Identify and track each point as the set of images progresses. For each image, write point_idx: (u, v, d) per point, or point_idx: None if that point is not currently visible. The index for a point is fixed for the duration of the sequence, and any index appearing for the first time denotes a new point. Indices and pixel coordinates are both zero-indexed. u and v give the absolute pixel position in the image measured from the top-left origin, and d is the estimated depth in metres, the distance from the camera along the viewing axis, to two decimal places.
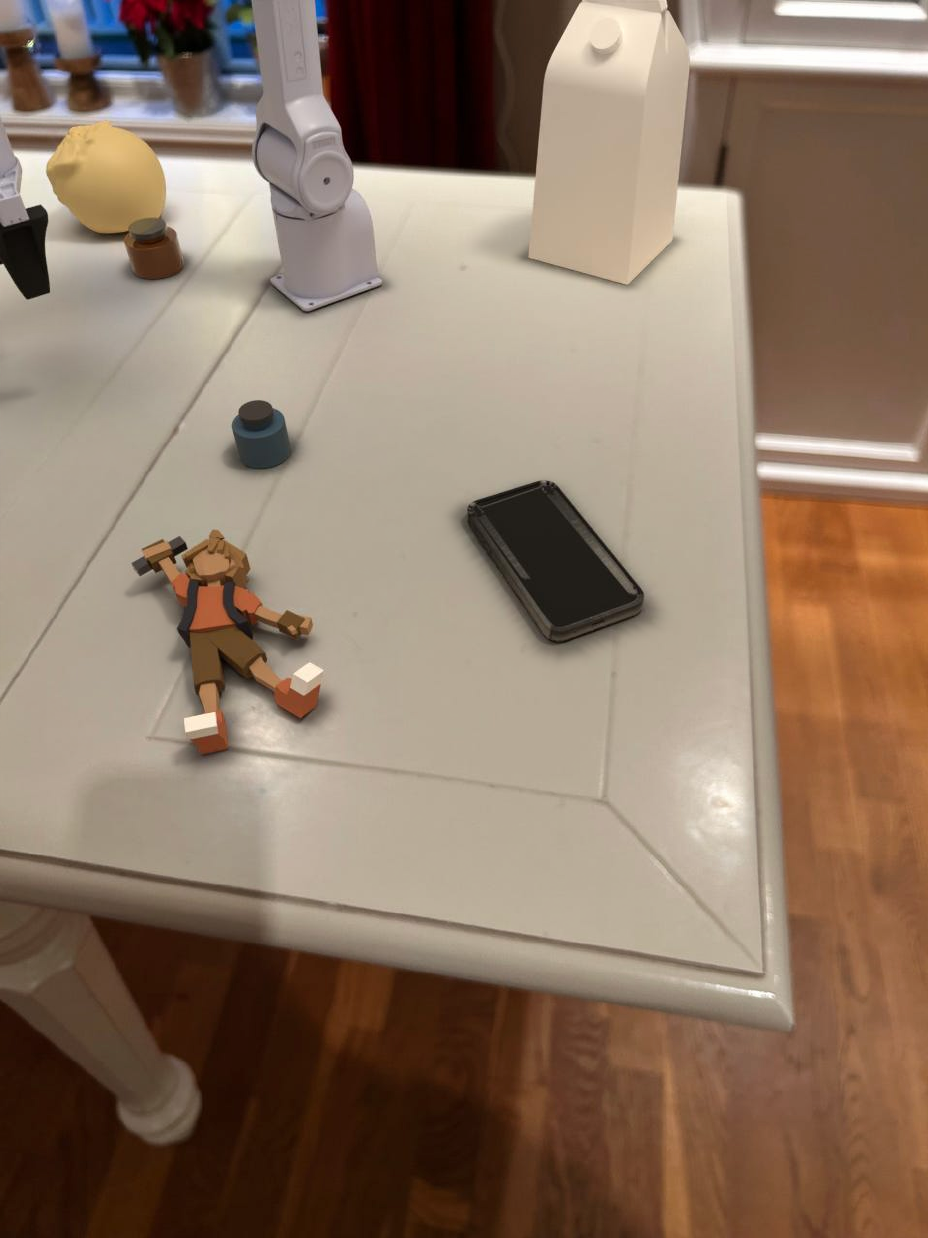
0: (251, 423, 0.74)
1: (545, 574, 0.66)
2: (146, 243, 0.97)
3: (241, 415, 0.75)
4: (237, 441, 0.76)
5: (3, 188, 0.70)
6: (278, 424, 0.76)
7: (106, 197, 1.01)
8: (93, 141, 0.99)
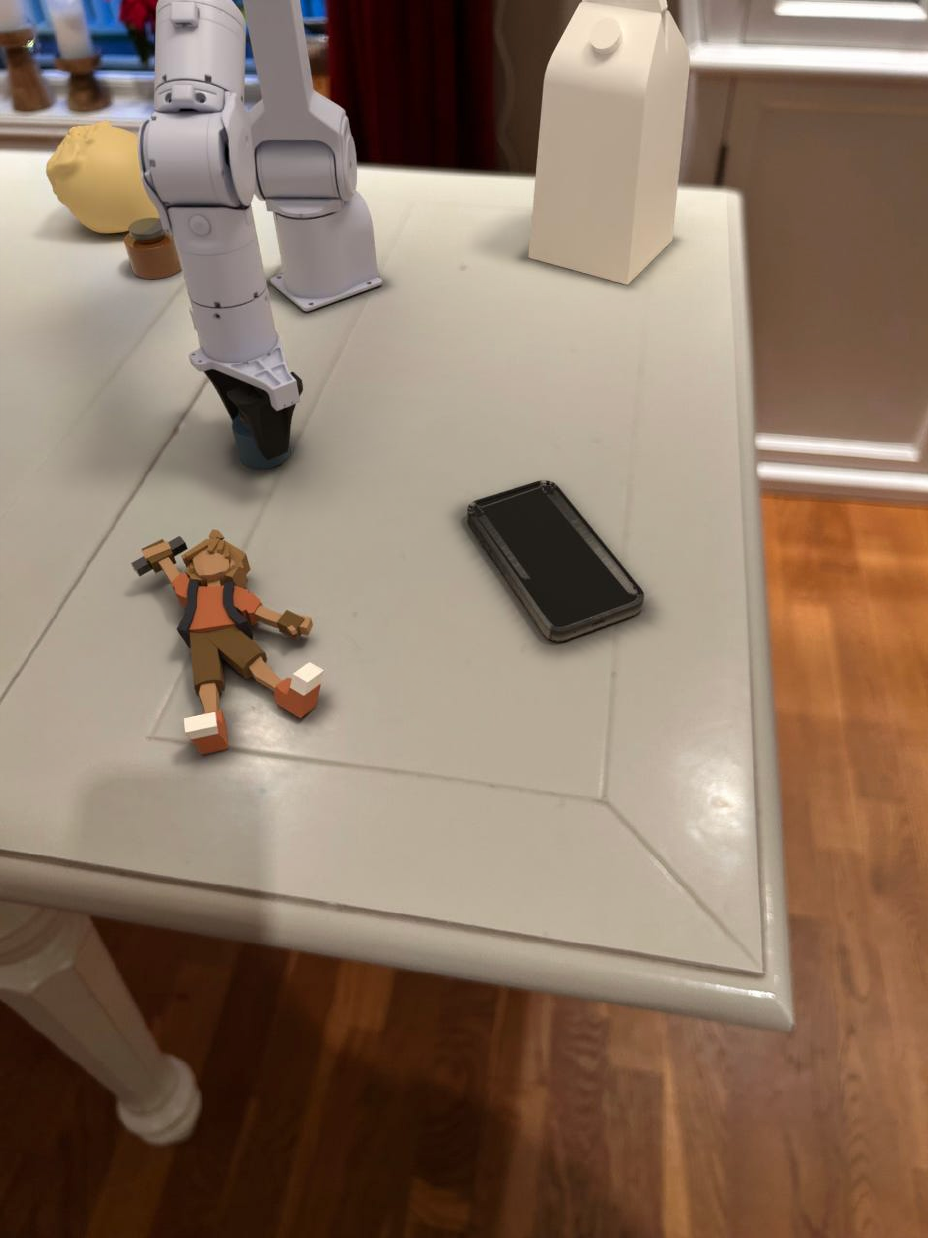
0: None
1: (545, 574, 0.66)
2: (146, 243, 0.97)
3: (241, 415, 0.74)
4: (237, 441, 0.76)
5: (273, 369, 0.68)
6: None
7: (106, 197, 1.01)
8: (93, 141, 0.99)
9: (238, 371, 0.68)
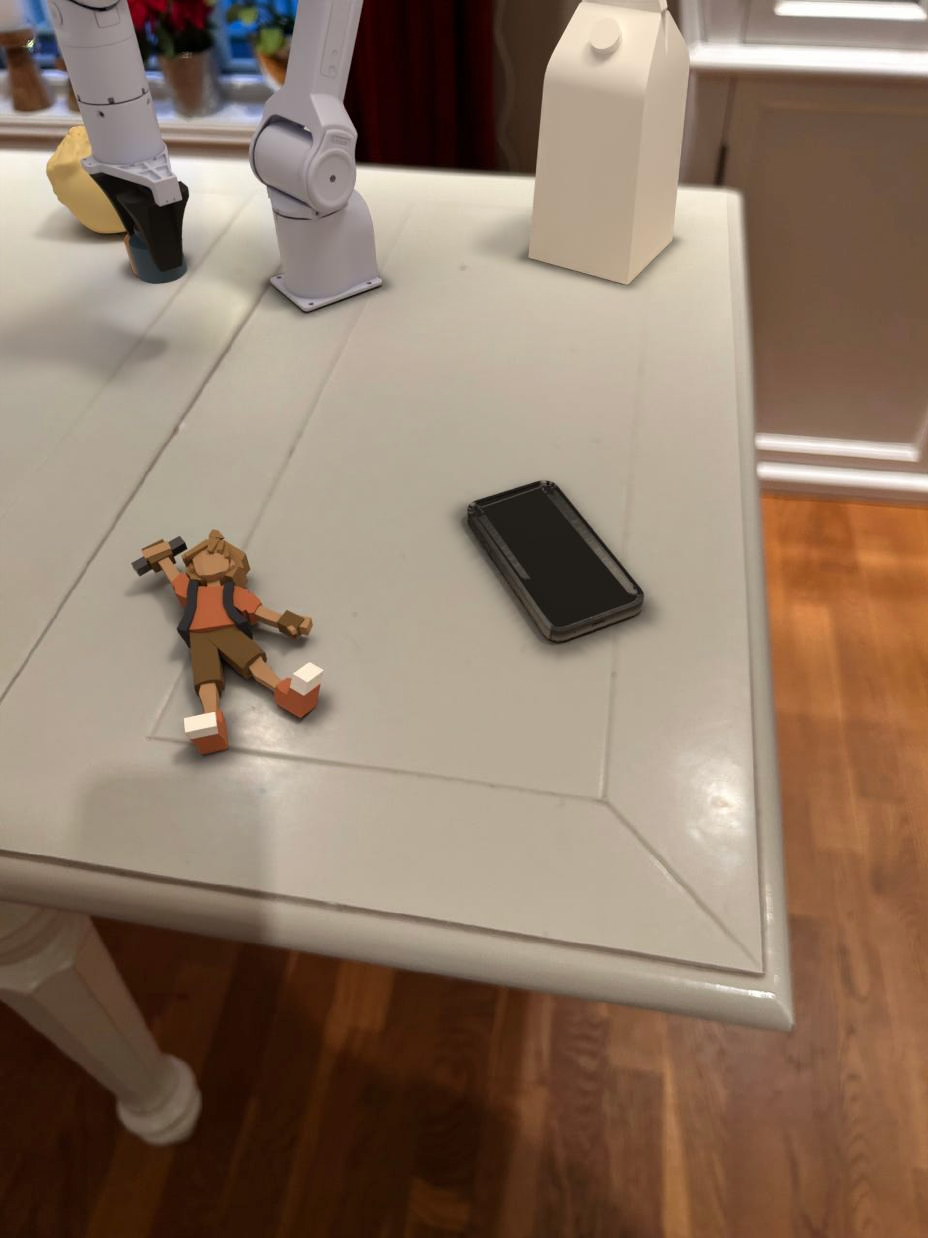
0: None
1: (545, 574, 0.66)
2: None
3: (136, 228, 0.80)
4: (133, 255, 0.81)
5: (157, 169, 0.74)
6: None
7: (106, 197, 1.01)
8: None
9: (124, 170, 0.73)
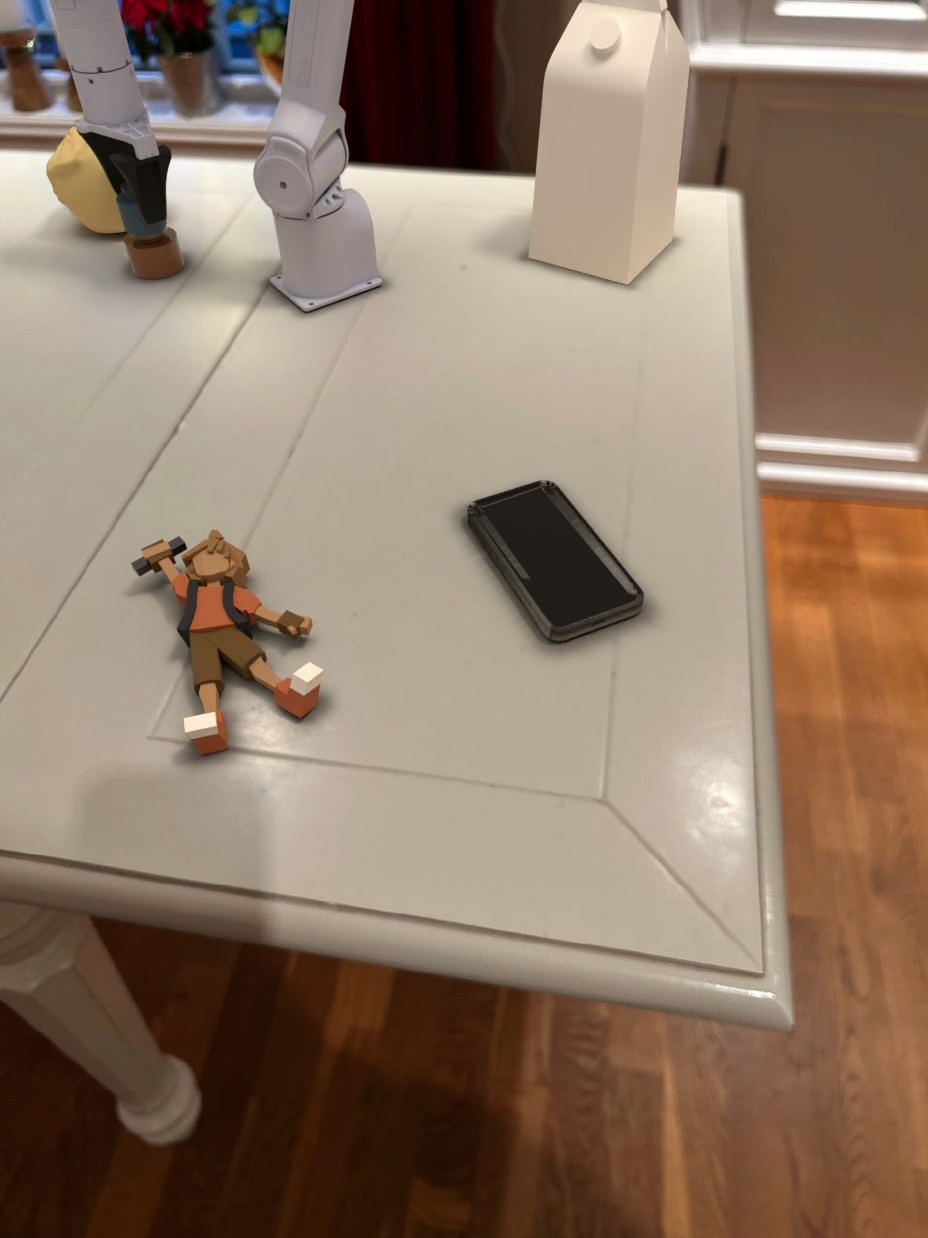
0: (130, 193, 0.94)
1: (545, 574, 0.66)
2: (146, 243, 0.97)
3: (122, 187, 0.94)
4: (120, 210, 0.95)
5: (138, 129, 0.87)
6: None
7: (106, 197, 1.01)
8: None
9: (110, 129, 0.87)
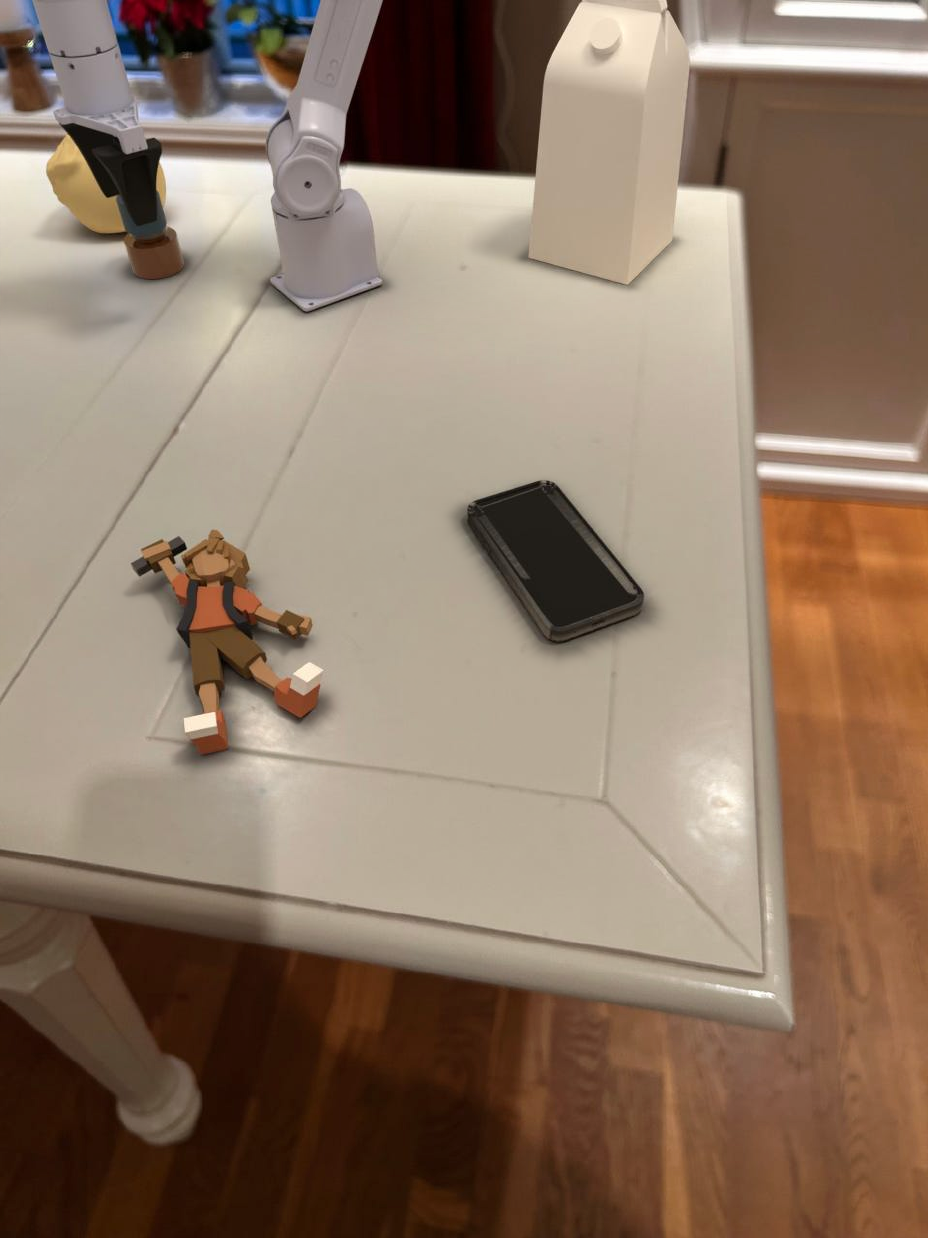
0: None
1: (545, 574, 0.66)
2: (146, 243, 0.97)
3: None
4: (120, 210, 0.95)
5: (125, 120, 0.78)
6: None
7: (106, 197, 1.01)
8: None
9: (93, 120, 0.78)
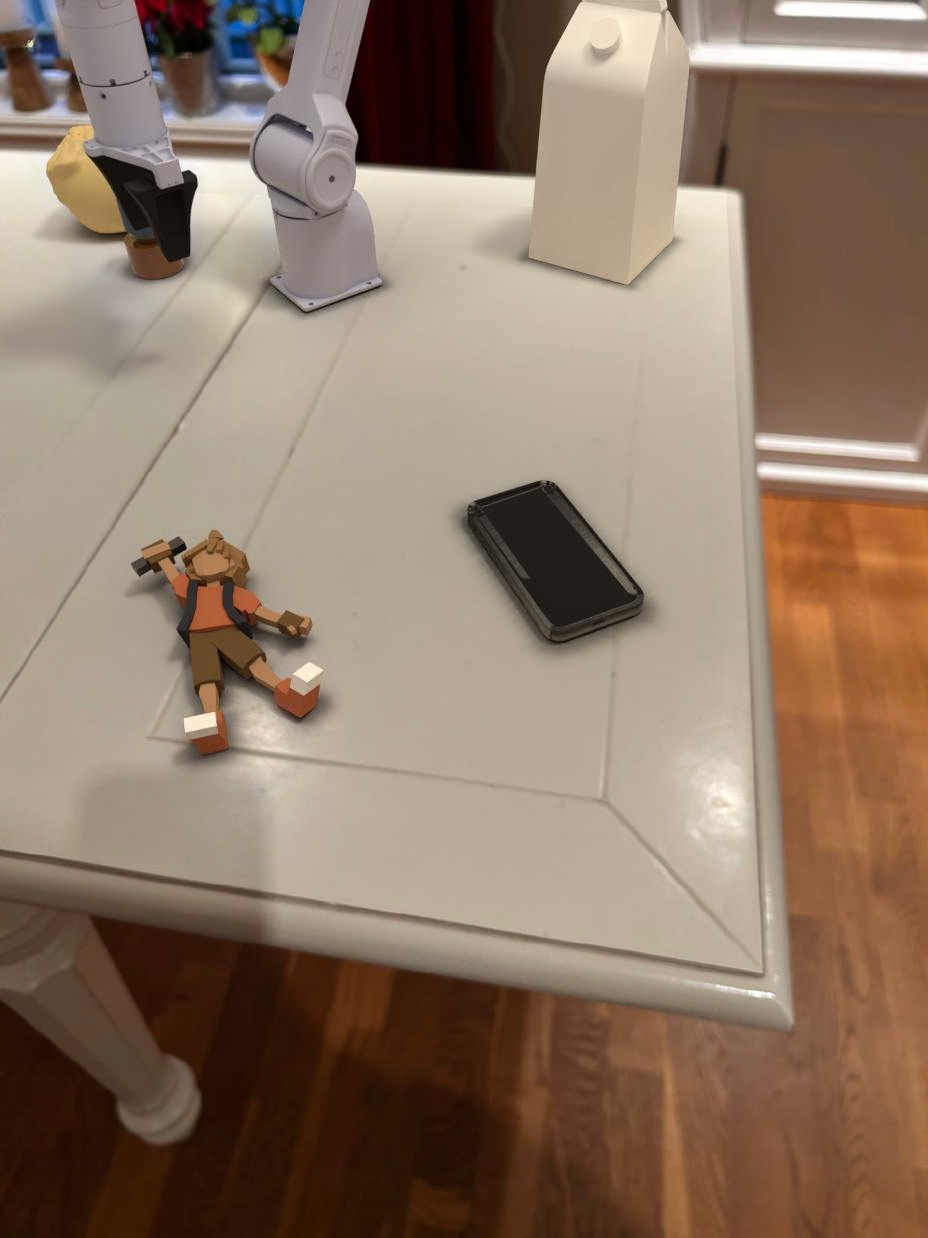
0: None
1: (545, 574, 0.66)
2: (146, 243, 0.97)
3: None
4: (120, 210, 0.95)
5: (159, 152, 0.73)
6: None
7: (106, 197, 1.01)
8: None
9: (126, 153, 0.73)
